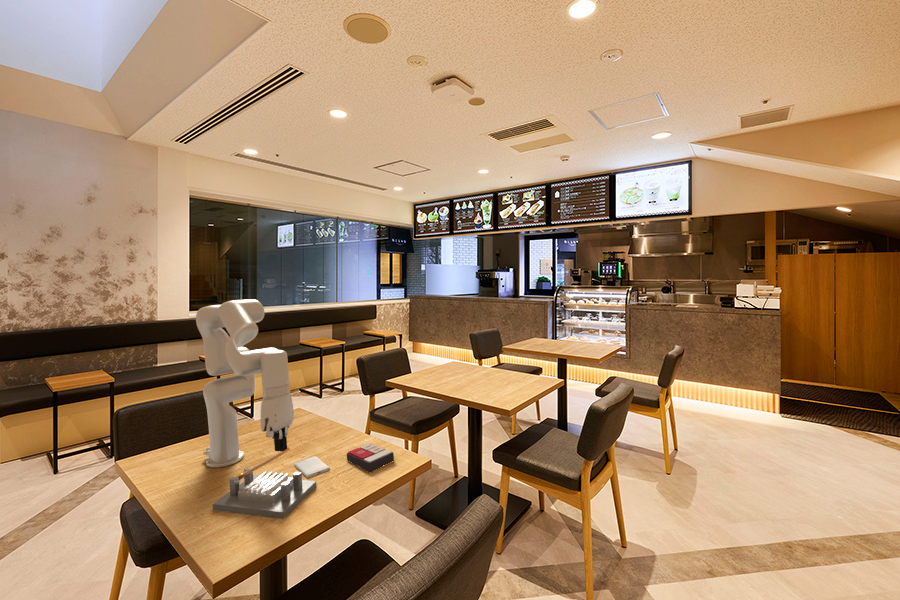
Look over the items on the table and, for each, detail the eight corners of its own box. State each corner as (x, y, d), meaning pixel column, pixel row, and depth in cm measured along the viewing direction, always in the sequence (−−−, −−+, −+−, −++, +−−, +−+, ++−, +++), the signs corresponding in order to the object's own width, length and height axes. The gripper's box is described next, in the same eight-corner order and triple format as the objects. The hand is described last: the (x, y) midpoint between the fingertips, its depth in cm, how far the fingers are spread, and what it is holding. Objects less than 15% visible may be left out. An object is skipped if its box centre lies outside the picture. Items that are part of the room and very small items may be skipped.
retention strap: (236, 482, 120) (234, 477, 120) (244, 476, 124) (242, 471, 124) (283, 456, 116) (280, 451, 116) (290, 450, 119) (288, 446, 119)
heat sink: (227, 497, 117) (226, 481, 117) (250, 480, 127) (249, 465, 127) (284, 504, 113) (283, 487, 113) (304, 486, 123) (303, 470, 122)
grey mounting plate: (212, 510, 115) (212, 503, 114) (253, 480, 131) (253, 475, 131) (283, 519, 109) (283, 512, 109) (316, 487, 126) (316, 481, 126)
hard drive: (294, 463, 141) (307, 475, 132) (315, 455, 146) (329, 466, 137) (294, 467, 141) (307, 479, 132) (316, 459, 146) (330, 471, 137)
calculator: (370, 441, 152) (393, 450, 142) (370, 452, 152) (394, 461, 142) (345, 451, 144) (369, 461, 134) (346, 462, 144) (370, 473, 134)
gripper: (281, 384, 125) (285, 440, 126) (248, 398, 111) (253, 460, 111) (301, 384, 124) (306, 440, 124) (270, 398, 109) (275, 461, 109)
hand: (281, 450), depth 118 cm, fingers closed
